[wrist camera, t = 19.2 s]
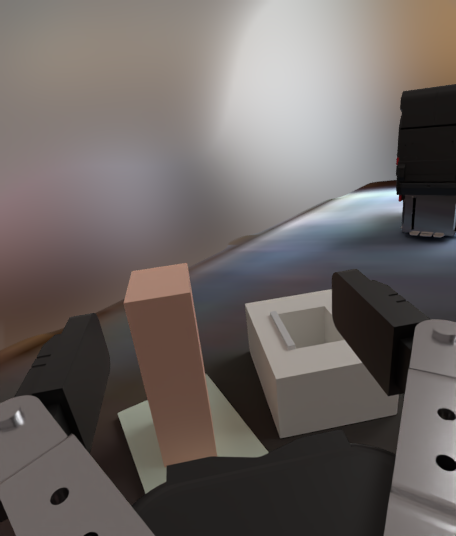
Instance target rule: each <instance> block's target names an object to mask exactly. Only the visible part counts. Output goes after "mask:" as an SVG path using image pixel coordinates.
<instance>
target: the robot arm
mask: <svg viewBox="0 0 456 536" xmlns="http://www.w3.org/2000/svg"><path fill="white" fill-rule="evenodd" d="M332 318H333V322H334V325H335V327H336V329H337V331H338V332H339V333H340V334H341V336H342V337H343V338H344V340H345V341H346V342H347V344H348V345H349V346H350V347H351V349H352V350H353V351H354V353H355V354H356V355H357V357H358V358H359V359H360V361H361V362H362V363H363V364H364V366H365V367H366V368H367V370H368V371H369V372H370V374H371V375H372V376H373V377H374V379H375V380H376V381H377V383H378V384H379V385H380V387H381V388H382V389H383V390H384V392H385V393H386V394H387V396H393V395H398V394H403V393H404V394H405V397H404V404H403V411H402V418H401V424H400V431H399V438H398V445H397V452H396V454H393V453H391V452H389V451H386V450H383V449H380V448H377V447H373V446H369V445H364V444H357V443H349V441H348V439H347V437H346V436H345V434H344V432H343V430H342V429H339V430H334V431H330V432H325V433H320V434H315V435H310V436H306V437H301V438H298V439H296V440H294V441H292V442H290V443H288V444H286V445H284V446H282V447H280V448H278V449H276V450H273V451H271V452H269V453H267V454H265V455H263V456H260V457H218V456H210V457H205V458H201V459H196V460H191V461H186V462H182V463H177V464H172V465H167V469H166V482H164V483H162V484H160V485H159V486H157V487H155V488H154V489H152V490H150V491H149V492H147V493H146V494H145V495H144V496H142V497H141V498H140V499H138V500H137V501H136V502H135V503H134V504H133V505H132V506H131V505H130V504H129V503H128V501H127V500H126V499H125V498H124V496H123V495H122V494H121V493H120V491H119V490H118V489H117V488H116V486H115V485H114V484H113V483H112V481H111V480H110V479H109V478H108V476H107V475H106V474H105V473H104V471H103V470H102V469H101V468H100V466H99V465H98V464H97V463H96V461H95V460H94V459H93V458H92V456H91V455H90V451H91V447H92V442H93V438H94V434H95V430H96V426H97V422H98V418H99V414H100V409H101V405H102V401H103V397H104V393H105V389H106V385H107V380H108V376H109V372H110V357H109V352H108V349H107V345H106V342H105V339H104V336H103V332H102V329H101V326H100V323H99V320H98V317H97V315H96V314H95V313H91V314H85V315H79V316H74V317H70V318H69V320H68V322H67V324H66V326H65V328H64V330H63V332H62V334H57V335H54V336H53V337H52V338H51V339H50V340H49V341H48V342H47V343H45V344H44V345H43V347H42V348H41V350H40V352H39V354H38V356H37V359H35V361H34V363H33V364H32V368H31V369H30V370H29V372H28V373H27V375H26V377H25V379H24V381H23V382H22V384H21V386H20V388H19V390H18V391H17V393H16V395H15V397H14V398H12V399H9V400H7V401H5V402H3V403H1V404H0V522H2V521H4V520H6V519H8V518H9V520H10V523H11V525H12V527H13V529H14V532H15V534H16V536H456V323H455V322H452V321H447V320H437V319H434V320H431V319H430V318H428V317H427V316H426V315H425V314H423V313H422V312H421V311H419V310H418V309H417V308H416V307H414V306H413V305H412V304H411V303H409V302H408V301H406V299H404V298H403V297H402V296H400V295H398V293H397V292H395V291H394V290H393V289H392V288H390V287H389V286H388V285H385V284H383V283H380V282H378V281H375V280H369V279H368V278H367V277H366V276H365V275H363V274H362V273H361V272H360V271H359V270H357V269H352V270H347V271H341V272H335V273H334V274H333V276H332Z"/></svg>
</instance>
